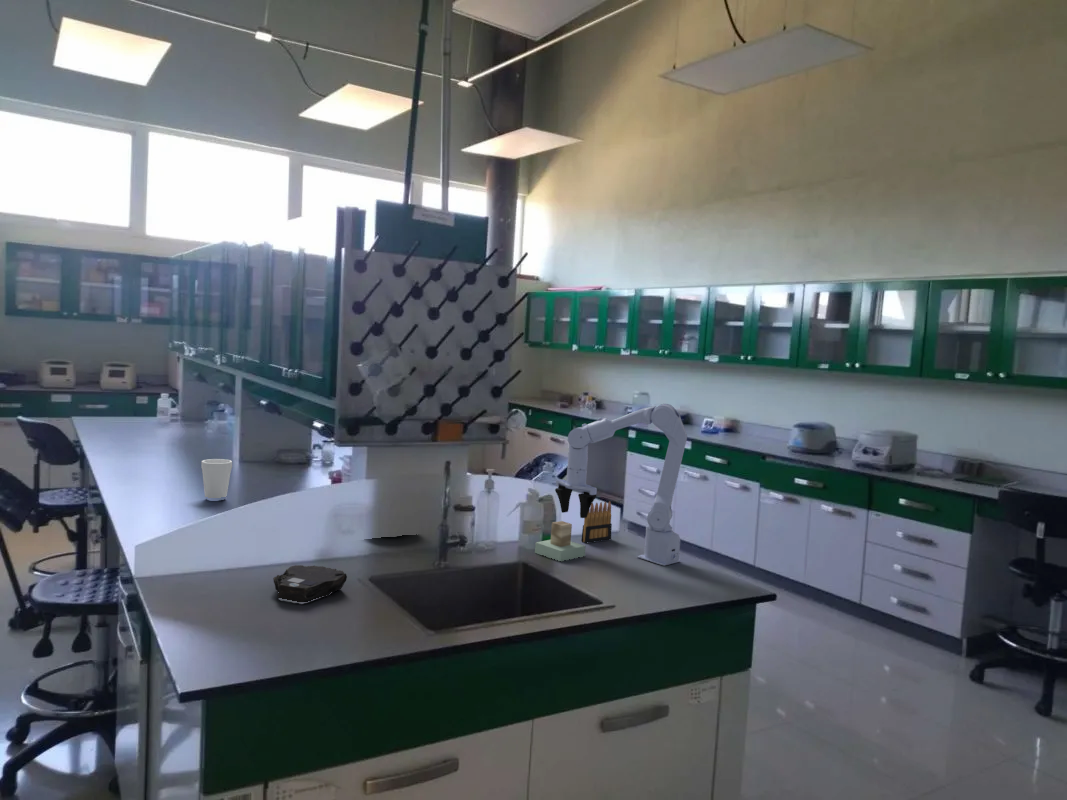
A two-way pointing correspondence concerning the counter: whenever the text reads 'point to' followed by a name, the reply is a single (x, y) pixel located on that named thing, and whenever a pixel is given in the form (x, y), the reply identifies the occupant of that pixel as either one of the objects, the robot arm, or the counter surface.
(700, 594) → the counter surface
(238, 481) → the counter surface
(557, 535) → the beech block
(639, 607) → the counter surface
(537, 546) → the sage base block
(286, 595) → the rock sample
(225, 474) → the foam cup
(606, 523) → the ammunition clip
